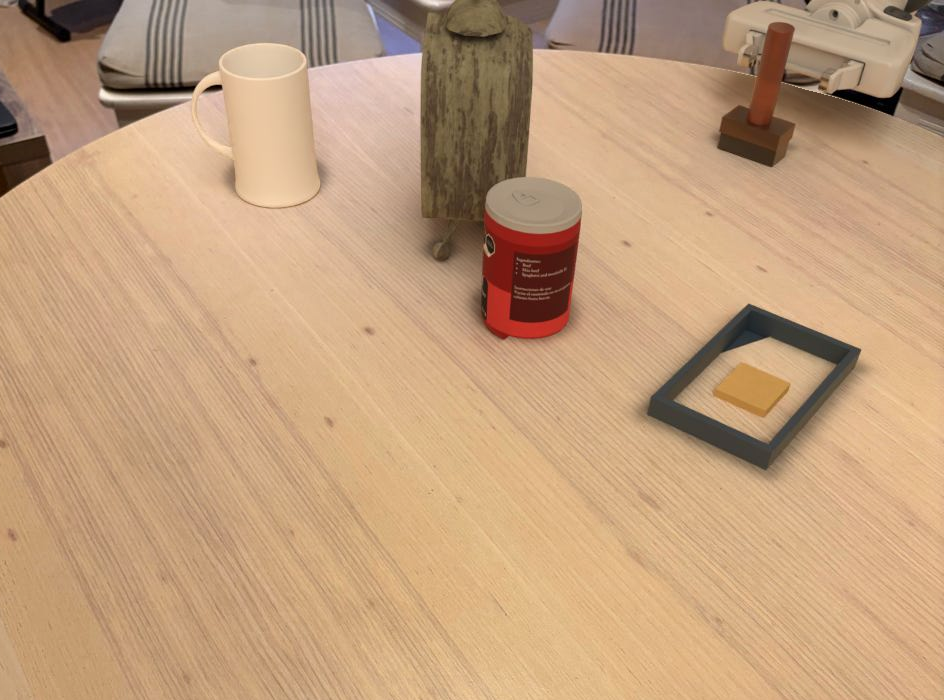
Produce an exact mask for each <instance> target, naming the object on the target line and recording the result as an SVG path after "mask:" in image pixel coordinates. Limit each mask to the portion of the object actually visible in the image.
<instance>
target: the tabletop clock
mask: <svg viewBox="0 0 944 700" xmlns="http://www.w3.org/2000/svg"><path fill="white" fill-rule="evenodd" d="M533 35H534V34H533V28H531V27H530V26H528V25H527V24H525V22H522V21H520V20H519V19H518V18H516V17H515V16H513V15H507V14H505V12H504V10H503V8H502V6H501V5H500V3H499V2H498V1H497V0H454V1H453V2H451V4H450V6H449V7H448V9H447V11H446V12H440V11H439V12H438V11H436V12H435V11H428V12H427V18H426V23H425V28H424V37H423V44H422V53H421V65H420V205H421V206H420V210H421V219H435V220H436V219H437V220H448V222H447V226H446V228H445V232H444V235H443V238H442V241H438V242H436V243H435V245H434V246H433V248H432V253H433V255H434V256H433V257H434V258H436V260H439V261H444V260H446V259H448V258H449V256H450V255H451V248H450V245H449V242H450V240H451V238H452V236H453V234H454V232H455V230H456V228H457V227H458V226H459V224H460V223H461V222H462V221H480V222H484V215H485V203H486V196H487V193H488V191H489V190H490V189H491V188H492V187H493V186H494V185H496V184H498V183H500V182H502V181H505V180H508V179H513V178H519V177H527V168H528V167H527V166H528V152H529V139H530V128H531V127H530V126H531V115H532V113H531V112H532V98H533V97H532V96H533V83H534V82H533V80H534V79H533V77H534V42H533V41H534V38H533Z"/></svg>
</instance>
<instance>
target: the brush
mask: <svg viewBox="0 0 944 700" xmlns="http://www.w3.org/2000/svg"><path fill="white" fill-rule="evenodd" d="M794 31H795V27H794V26H793V25H791V24H788V23H784V22H774V23H771V24H769V26H768V30H767V34H766V38H765V43H764V47H763V51H762V55H761V60H760V61H759V64H758V69H757V73H756V77H755V82H754V85H753V90H752V94H751V98H750V102H749V107H746V106H743V105H740V104H738V105H737V106H735V107H733V108H732V109H731V110H730V111H728V112H727V113H726V114H724V115H723V116H722V117H721V120H720V126H719V130H718V133H720V135H719V139H718V143H717V149H719V150H722V151H725V152H727V153H731V154H734V155H736V156H740V157H743V158H746V159H749V160H751V161H754V162H757V163H759V164H762V165H765V166H768V167H771V168H772V167H774V166H775V165H776V164H778V163H779V162H780V161H781V160H782V159H783V158H785V157H786V155H787V151H788V148H789V143H790V141H791V140H792V139H793V135H794V133H795V128H796V125H797V124H796V122H795V123H794V122H792V121H789V120H786V119H784V118H780V117H776V116H774V113H775V109H776V105H777V101H778V98H779V95H780V94H779V93H780V90H781V87H782V82H783V78H784V75H785V71H786V69H785V67H786V63H787V59H788V55H789V51H790V47H791V43H792V39H793V35H794Z"/></svg>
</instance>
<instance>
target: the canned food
mask: <svg viewBox="0 0 944 700" xmlns="http://www.w3.org/2000/svg"><path fill="white" fill-rule="evenodd" d="M582 216H583V203H582V199H581V198H580V196H579V194H577V192H576V191H575V190H573V189H572V188H570V187H569V186H567V185H565V184H564V183H562V182H559V181H556V180H554V179H553V180H552V179H548V178H543V177H535V176H534V177H533V176H526V177H519V178H513V179H508V180H505V181H502V182H500V183H498V184H496V185H494V186H493V187H492V188H491V189H490V190H489V191H488V193H487V196H486V203H485V215H484V221H483V241H482V243H483V244H482V268H481V271H482V272H481V290H480V291H481V293H480V313H481V316H482V320H483V322H484V325H485V326H486V328H487V329H488V330H489V331H490V332H491V333H492V334H493V335H496V336H497V337H498V338H501V339H502V340H506V339H508V337H511V338H512V337H513V338H516V339H525V340H535V339H543V338H548V337H550V336H553V335H555V334H557V333H559V332H561V331H562V330H563V329H564V328H565V327H566V326H567V324H568V322H569V318H570V314H571V313H570V312H571V305H572V297H573V289H574V281H575V273H576V267H577V266H576V265H577V260H578V259H577V258H578V249H579V242H580V234H581V225H582Z"/></svg>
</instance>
